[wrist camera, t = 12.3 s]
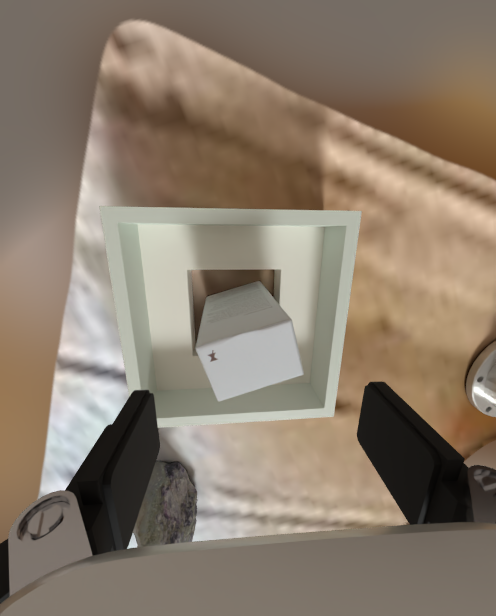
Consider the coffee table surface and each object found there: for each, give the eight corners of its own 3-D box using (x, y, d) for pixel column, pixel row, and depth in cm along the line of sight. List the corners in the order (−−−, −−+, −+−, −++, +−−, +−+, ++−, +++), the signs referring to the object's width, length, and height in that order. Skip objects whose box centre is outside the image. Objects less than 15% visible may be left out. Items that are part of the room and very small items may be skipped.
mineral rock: (185, 534, 36) (171, 644, 26) (111, 518, 33) (67, 632, 24) (222, 471, 33) (222, 569, 23) (145, 449, 31) (109, 547, 21)
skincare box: (218, 331, 27) (214, 404, 15) (205, 295, 25) (191, 346, 14) (271, 315, 27) (306, 376, 15) (261, 278, 26) (291, 316, 14)
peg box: (323, 216, 24) (361, 211, 18) (308, 375, 30) (333, 416, 23) (135, 213, 23) (99, 206, 16) (155, 382, 28) (134, 429, 21)
